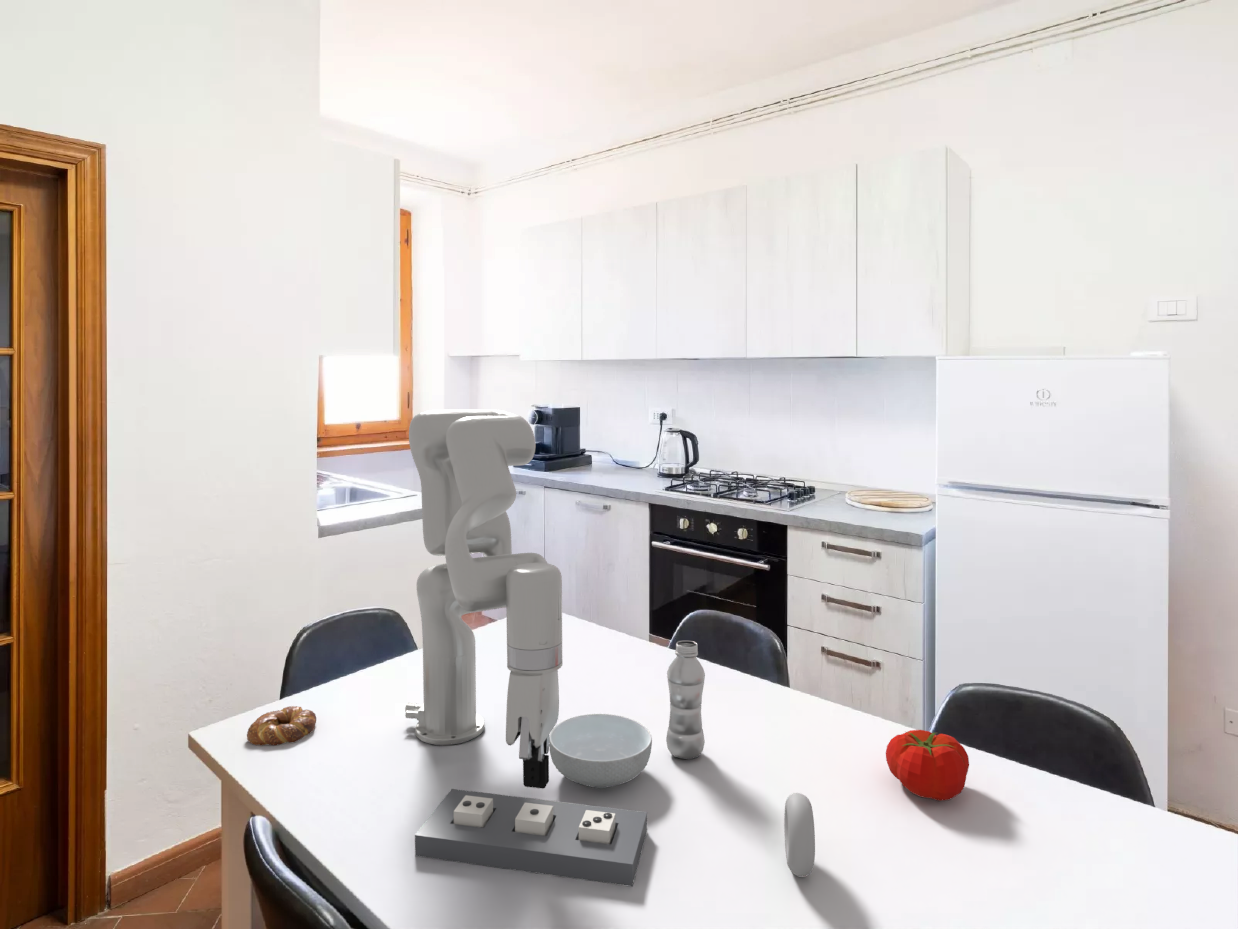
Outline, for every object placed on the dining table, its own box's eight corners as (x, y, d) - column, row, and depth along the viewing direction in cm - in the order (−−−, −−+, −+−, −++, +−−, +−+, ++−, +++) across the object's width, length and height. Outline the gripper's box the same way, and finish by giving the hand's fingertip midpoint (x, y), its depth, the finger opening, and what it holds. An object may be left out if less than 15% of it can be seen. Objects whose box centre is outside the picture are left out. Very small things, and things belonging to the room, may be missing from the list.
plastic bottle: (702, 765, 124) (705, 651, 122) (663, 761, 125) (665, 648, 124) (705, 748, 130) (708, 639, 129) (668, 744, 132) (670, 636, 130)
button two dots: (453, 827, 102) (453, 810, 102) (465, 810, 106) (465, 794, 106) (482, 831, 101) (482, 813, 101) (493, 814, 105) (493, 797, 105)
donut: (781, 845, 102) (784, 777, 101) (807, 847, 102) (809, 779, 101) (787, 892, 92) (790, 817, 91) (815, 895, 92) (818, 820, 91)
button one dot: (515, 835, 100) (515, 817, 100) (524, 818, 104) (524, 801, 104) (544, 839, 99) (544, 821, 99) (553, 822, 103) (553, 804, 103)
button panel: (415, 855, 99) (414, 835, 99) (451, 807, 111) (451, 788, 110) (632, 886, 93) (632, 864, 93) (646, 832, 105) (647, 812, 105)
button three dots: (578, 843, 98) (578, 826, 98) (585, 826, 103) (586, 808, 102) (609, 847, 98) (609, 829, 97) (615, 829, 102) (615, 812, 101)
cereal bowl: (573, 814, 109) (574, 769, 109) (534, 764, 124) (534, 724, 123) (670, 787, 117) (671, 745, 117) (622, 743, 132) (622, 706, 131)
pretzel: (256, 756, 127) (255, 735, 126) (239, 734, 135) (238, 714, 134) (326, 735, 134) (325, 715, 134) (306, 715, 143) (305, 697, 142)
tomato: (904, 760, 127) (907, 711, 126) (980, 788, 118) (983, 736, 117) (867, 789, 117) (869, 737, 116) (947, 822, 108) (950, 766, 107)
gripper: (525, 636, 107) (527, 757, 109) (488, 672, 93) (490, 811, 94) (575, 639, 106) (576, 761, 107) (545, 676, 91) (546, 817, 93)
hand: (536, 784), depth 101 cm, fingers closed
